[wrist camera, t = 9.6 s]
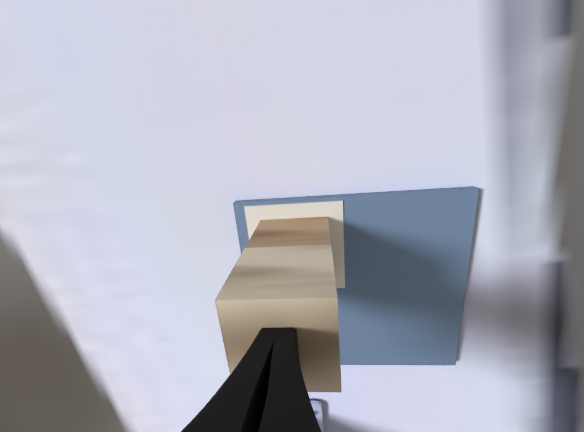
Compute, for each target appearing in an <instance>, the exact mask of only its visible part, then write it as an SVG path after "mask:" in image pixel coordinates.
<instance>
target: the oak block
mask: <svg viewBox="0 0 584 432" xmlns="http://www.w3.org/2000/svg"><path fill="white" fill-rule="evenodd" d="M325 244H331V242H330V233H329V224H328V216H327V217H308V218H289V219H270V220H260V222H259V224H258V225H257V227H256V229H255V231H254V233H253V234H252V236H251V238H250V240H249V241H248V243H247V245H246V247H245V248H258V247H280V246H303V245H325Z"/></svg>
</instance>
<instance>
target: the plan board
mask: <svg viewBox="0 0 584 432" xmlns="http://www.w3.org/2000/svg"><path fill="white" fill-rule="evenodd" d="M478 194H479V188H476V187H474V186H473V187H457V188H440V189H424V190H407V191H390V192H374V193H357V194H341V195H324V196H307V197H291V198H274V199H258V200H241V201H235V202H234V203H233V206H234V212H235V218H236V224H237V231H238V237H239V243H240V249H241V254H242V252H243V250H244V248H245V247H246V245H247V243H248V241H249V240H250V238H251V236H252V234H253V233H254V231H255V229H256V227H257V225H258V224H259V222H260V220H270V219H289V218H308V217H327V216H328V224H329V233H330V242H331V246H332V255H333V264H334V272H335V281H336V290H337V299H338V323H339V346H340V365H455V364H456V356H457V349H458V342H459V334H460V327H461V320H462V312H463V305H464V297H465V290H466V283H467V275H468V268H469V260H470V253H471V246H472V238H473V231H474V223H475V216H476V209H477V201H478Z"/></svg>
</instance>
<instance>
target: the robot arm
mask: <svg viewBox="0 0 584 432" xmlns="http://www.w3.org/2000/svg"><path fill="white" fill-rule="evenodd" d="M181 432H324V426H323V411H322V403H321V402H319V401H311V400H310V399H309V396H308V392H307V389H306V386H305V382H304V379H303V375H302V371H301V366H300V358H299V348H298V338H297V330H296V329H295V328H294V327H279V328H262V329H261V330H260V331H259V333H258V334H257V336H256V337H255V339H254V341H253V342H252V344H251V345H250V347H249V349H248V350H247V352H246V353H245V355H244V356H243V357H242V359H241V360H240V362H239V363H238V365H237V366H236V367H235V369H234V370H233V372H232V373H231V374H230V376H229V377H228V378H227V380H226V381H225V382H224V383H223V385H222V386H221V387H220V389H219V390H218V391H217V392H216V394H215V395H214V396H213V397H212V398H211V400H210V401H209V402H208V403H207V404H206V405H205V407H204V408H203V409H202V410H201V411H200V412H199V413H198V414H197V416H196V417H195V418H194V419H193V420H192V421H191V422H190V423H189V424H188V425H187V426H186V427H185V428H184V429H183V430H182V431H181Z"/></svg>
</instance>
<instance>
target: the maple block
mask: <svg viewBox="0 0 584 432" xmlns="http://www.w3.org/2000/svg"><path fill="white" fill-rule="evenodd" d="M215 303H216V308H217V313H218V318H219V323H220V327H221V332H222V337H223V342H224V347H225V352H226V356H227V361H228V366H229V371H230V374H231V373H232V372H233V370H234V369H235V367H236V366H237V365H238V363H239V362H240V360H241V359H242V357H243V356H244V355H245V353H246V352H247V350H248V349H249V347H250V345H251V344H252V342H253V341H254V339H255V337H256V336H257V334H258V333H259V331H260V330H261V329H262V328H279V327H294V328H295V329H296V330H297V338H298V348H299V358H300V366H301V371H302V375H303V379H304V382H305V386H306V389H307V392H341V369H340V346H339V323H338V299H337V290H336V281H335V272H334V264H333V255H332V246H331V244H325V245H303V246H280V247H258V248H244V250H243V252H242V254H241V255H240V257H239V259H238V261H237V262H236V264H235V266H234V268H233V269H232V271H231V273H230V275H229V277H228V278H227V280H226V282H225V284H224V285H223V287H222V289H221V291H220V292H219V294H218V296H217V298H216V300H215Z"/></svg>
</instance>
